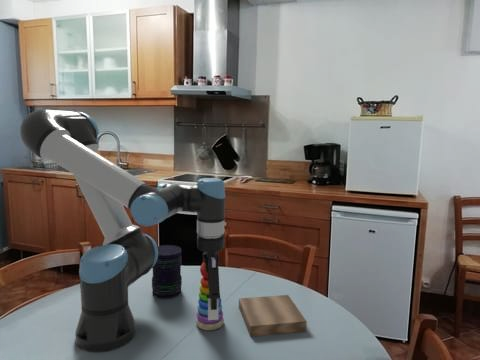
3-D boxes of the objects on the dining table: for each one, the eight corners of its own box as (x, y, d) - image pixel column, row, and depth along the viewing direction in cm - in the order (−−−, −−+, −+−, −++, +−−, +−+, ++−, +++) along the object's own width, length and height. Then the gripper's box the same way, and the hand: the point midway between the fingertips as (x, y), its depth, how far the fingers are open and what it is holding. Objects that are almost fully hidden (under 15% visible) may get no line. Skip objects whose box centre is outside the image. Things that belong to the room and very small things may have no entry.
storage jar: (185, 286, 128) (185, 245, 126) (177, 300, 118) (177, 256, 116) (157, 285, 129) (156, 244, 127) (147, 298, 119) (146, 254, 117)
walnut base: (250, 336, 99) (250, 326, 99) (238, 307, 114) (239, 298, 114) (306, 331, 102) (306, 321, 102) (287, 303, 118) (288, 294, 117)
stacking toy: (225, 317, 108) (226, 257, 105) (221, 332, 100) (222, 267, 98) (199, 315, 109) (199, 255, 106) (193, 330, 101) (193, 266, 98)
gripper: (232, 249, 89) (230, 329, 93) (218, 222, 114) (217, 286, 117) (201, 250, 88) (201, 332, 91) (193, 222, 112) (193, 288, 115)
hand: (210, 306), depth 104 cm, fingers open, 13 cm apart
